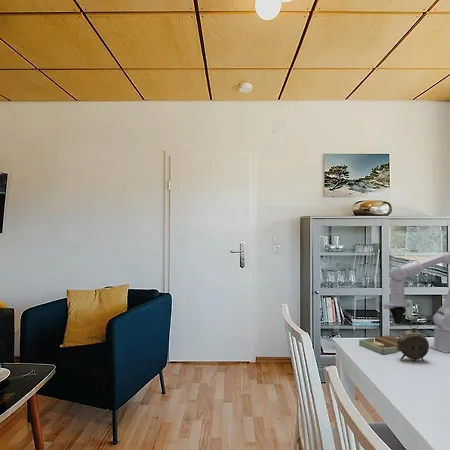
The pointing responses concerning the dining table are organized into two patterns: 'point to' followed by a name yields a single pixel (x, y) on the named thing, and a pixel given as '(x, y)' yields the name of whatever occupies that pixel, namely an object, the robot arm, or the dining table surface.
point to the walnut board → (388, 341)
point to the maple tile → (377, 344)
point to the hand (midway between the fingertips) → (397, 323)
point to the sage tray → (376, 347)
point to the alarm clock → (413, 344)
